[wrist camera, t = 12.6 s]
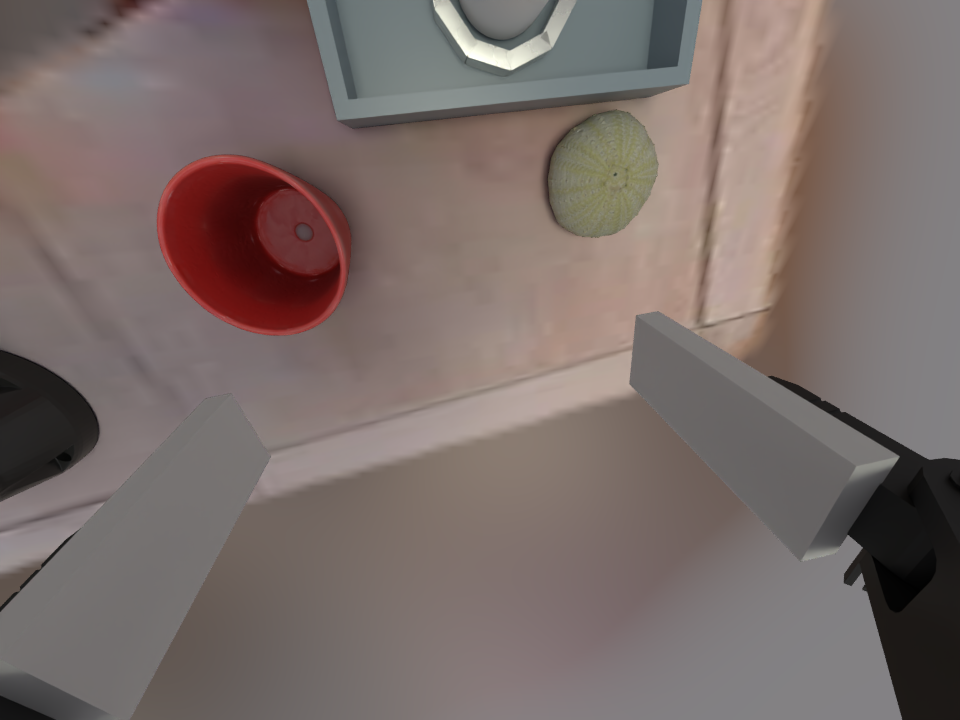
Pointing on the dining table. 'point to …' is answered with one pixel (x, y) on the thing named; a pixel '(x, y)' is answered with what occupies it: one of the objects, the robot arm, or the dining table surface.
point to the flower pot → (254, 244)
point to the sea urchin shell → (602, 174)
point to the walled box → (470, 91)
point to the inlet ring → (493, 56)
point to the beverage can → (502, 16)
